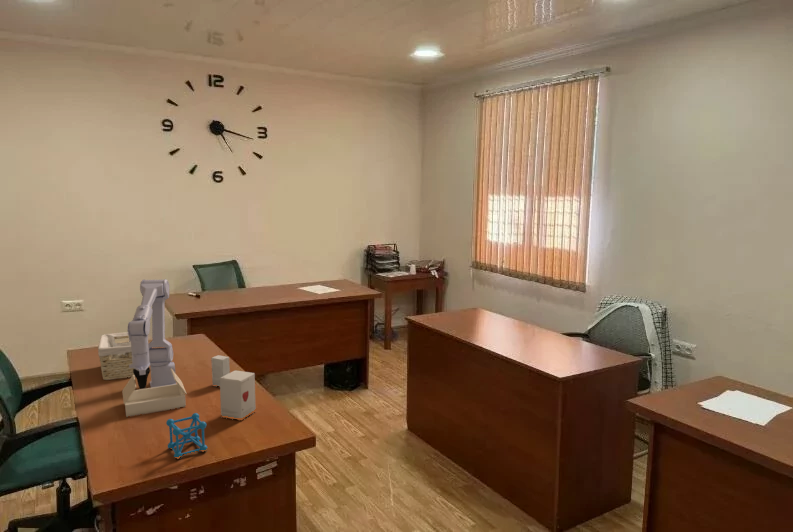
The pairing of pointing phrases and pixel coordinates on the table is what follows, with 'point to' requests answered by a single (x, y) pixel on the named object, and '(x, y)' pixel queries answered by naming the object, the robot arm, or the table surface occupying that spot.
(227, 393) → the supplement box
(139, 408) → the carton
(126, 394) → the carton flap
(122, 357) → the storage basket
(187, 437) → the molecular structure
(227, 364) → the skincare box
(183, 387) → the carton flap
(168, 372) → the robot arm
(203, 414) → the table surface
